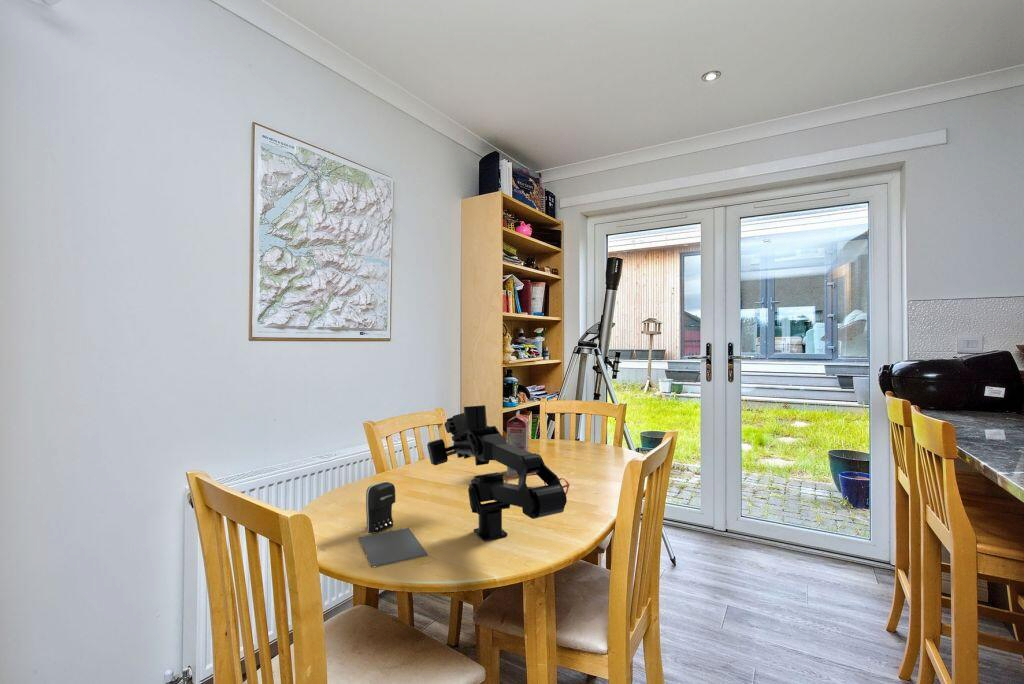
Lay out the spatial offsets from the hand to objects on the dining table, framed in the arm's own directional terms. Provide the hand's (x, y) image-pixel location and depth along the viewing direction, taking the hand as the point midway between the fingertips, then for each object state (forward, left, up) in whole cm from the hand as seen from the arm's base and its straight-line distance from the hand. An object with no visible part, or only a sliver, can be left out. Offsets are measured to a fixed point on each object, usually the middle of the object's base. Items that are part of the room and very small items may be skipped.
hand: (450, 444), depth 137 cm
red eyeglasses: (-5, -26, -18) cm, 32 cm away
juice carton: (+17, -31, -17) cm, 39 cm away
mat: (-21, +22, -17) cm, 35 cm away
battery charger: (-10, +22, -17) cm, 30 cm away
